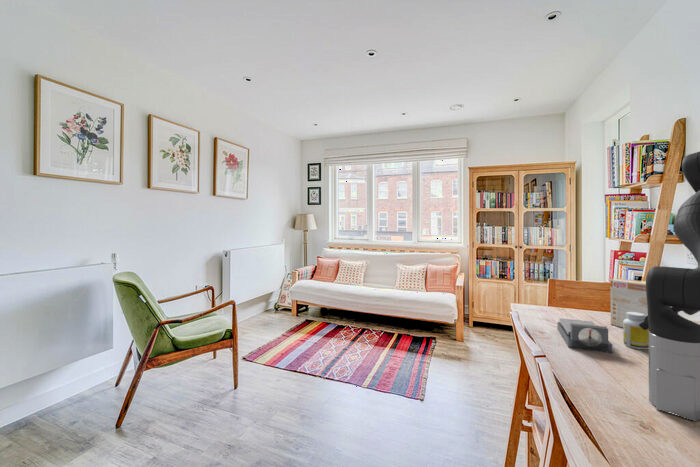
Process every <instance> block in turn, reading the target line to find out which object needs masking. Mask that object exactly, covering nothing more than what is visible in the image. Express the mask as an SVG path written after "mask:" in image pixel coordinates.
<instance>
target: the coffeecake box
mask: <svg viewBox="0 0 700 467" xmlns="http://www.w3.org/2000/svg"><path fill="white" fill-rule="evenodd" d="M609 282H610V284H609V285H610V286H609V287H610V288H609V289H610V292H609V293H610V325H611V326H615V327H620V328H623V321H624V320H625V319H627V318H628V317H627V316H626V313H627V312H637V313H642V314H644V315H645V317H646V316H648V308H647V295H646V280H645V281H643V280H635V279H629V278H627V279H626V278H621V277H620V278H611V279H610V281H609Z"/></svg>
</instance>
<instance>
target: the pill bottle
mask: <svg viewBox="0 0 700 467" xmlns="http://www.w3.org/2000/svg"><path fill="white" fill-rule="evenodd" d="M626 316H627V317H628V318H627V319H625V320H624V321H623V327H622V329H623V331H622V334H623V344H624V345H625V346H627V347H629V348H631V349H636V350H649V329H647V330H643V329H642V328H641V327H640V326H639V324H640V323H642V322H644V319H645V315H644V314H642V313H637V312H627V313H626Z"/></svg>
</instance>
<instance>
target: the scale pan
mask: <svg viewBox="0 0 700 467" xmlns="http://www.w3.org/2000/svg"><path fill="white" fill-rule="evenodd" d="M558 322H560V323H561V325H562V326H563V328H564V329H565V331H566V332H567V334H568V335H570V323H571V324H582V325H592V326H597V325H596V324H595V323H594V322H593V320H581V319H571V318H570V319H568V318H561V317H560V318H558Z"/></svg>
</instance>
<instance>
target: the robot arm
mask: <svg viewBox="0 0 700 467" xmlns="http://www.w3.org/2000/svg"><path fill="white" fill-rule="evenodd" d="M681 170H682V171H681V172H682V174H683V175H684V178H685V180H686V182H687V183H688V184H689V185H690V187H691V188H692V190H693V191H694V192H695V193H694V194H692V195H691V196H690V197H688V199H686V200H685V201H684V202H683V203H682V204H681V205H680V207H679V208H678V210H677V213H676V216H675V220H674V221H673V222H674V223H673V227H672V228H673V232H674V234H675V236H676V237H677V239H678V240H679V241H680V242H681V243H682V244H683V245H684V247H686V249H687V250H688V251H690V253H691V254H692V255H693V257H694V259H695V260H696V262H697V266H696V267H695V268H687V267H675V266H674V267H673V266H672V267H671V266H660V265H659V266H652V267H651V268H649V270H648V272H647V274H646V277H645V282H646V295H647V308H648V316H646V317H645V319H644V322H642V323H640V324H639V326H640V327H641V328H642V329H643V330H647V329H649V348H648V401H649V403H652V404H651V405H653V406H654V407H655V406H656V407H655V409H656V410H657V409H659V410H658V411H660V410H662V411H661V412H663V411H666V412H671V413H674V414H677V415H679V416H682V417H685V418H687V419H686V420H688V419H690V420H689V421H691V420H693V422H695V421H700V324H699V323H697V322H695V321H692V320H689V319H688V318H686V317H683V316H682V315H680V314H679V313H680V312H683V313H685V314H686V315H688V316H693V315H696V314H697V313H699V312H700V151H696V152H693V153H689V154H687V155H686V156H684V157H683V159H682V161H681ZM666 412H665V413H666ZM679 416H678V417H679ZM682 417H681V418H682ZM685 418H684V419H685Z"/></svg>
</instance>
